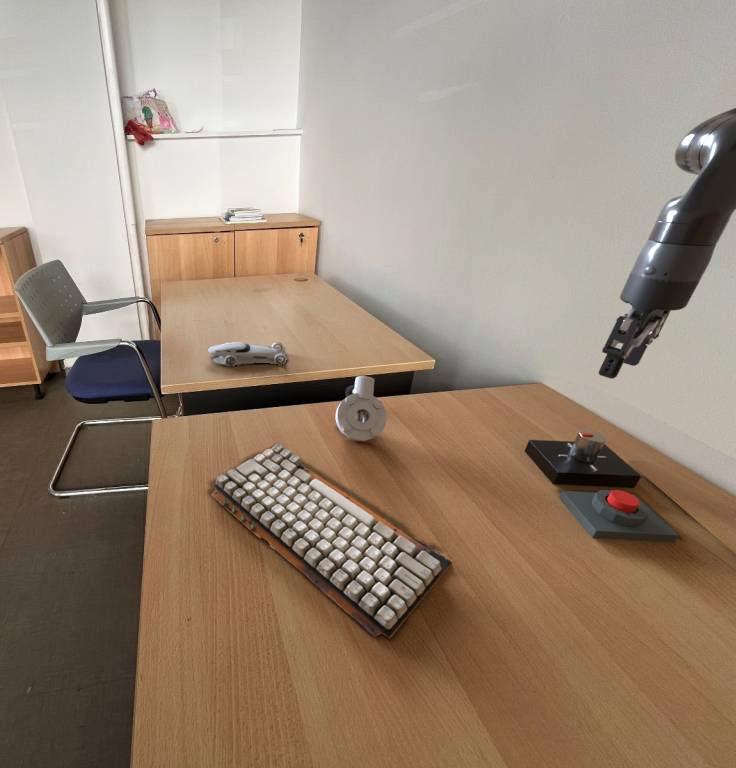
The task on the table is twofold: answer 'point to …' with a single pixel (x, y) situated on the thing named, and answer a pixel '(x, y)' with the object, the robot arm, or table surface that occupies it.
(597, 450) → the knob
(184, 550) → the table surface
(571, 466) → the panel
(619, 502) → the button
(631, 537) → the button box
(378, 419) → the mechanical valve
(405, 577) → the mechanical keyboard
